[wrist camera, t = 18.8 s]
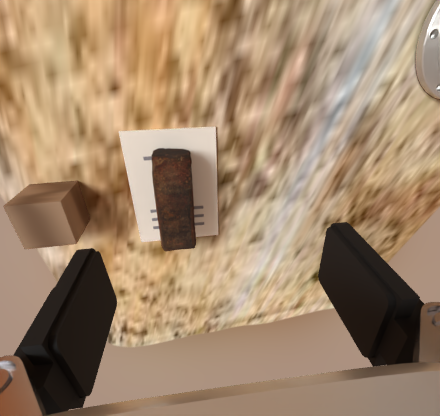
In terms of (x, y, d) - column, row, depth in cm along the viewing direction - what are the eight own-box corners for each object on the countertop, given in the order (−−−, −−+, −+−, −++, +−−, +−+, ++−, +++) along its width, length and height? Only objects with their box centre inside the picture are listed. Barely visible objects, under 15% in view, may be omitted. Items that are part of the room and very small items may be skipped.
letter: (215, 126, 28) (215, 126, 28) (218, 233, 35) (218, 234, 35) (119, 131, 27) (118, 131, 27) (141, 241, 34) (141, 242, 34)
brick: (194, 227, 34) (197, 249, 30) (163, 229, 33) (161, 253, 29) (190, 145, 28) (192, 159, 24) (153, 146, 28) (148, 161, 24)
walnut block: (77, 180, 29) (60, 201, 25) (90, 218, 31) (76, 244, 27) (29, 184, 28) (3, 206, 24) (46, 222, 31) (24, 249, 27)
